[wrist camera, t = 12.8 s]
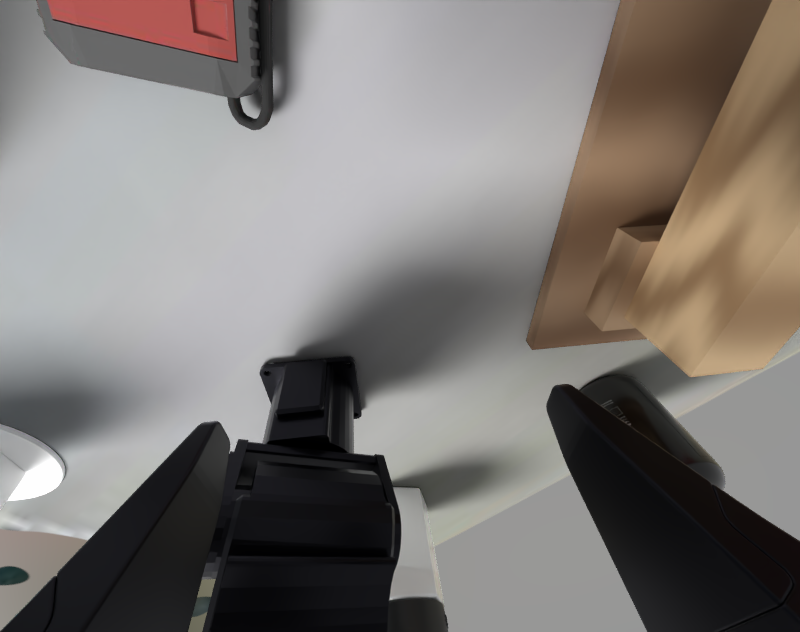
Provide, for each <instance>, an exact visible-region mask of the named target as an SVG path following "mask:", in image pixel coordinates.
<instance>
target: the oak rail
mask: <svg viewBox="0 0 800 632" xmlns="http://www.w3.org/2000/svg"><path fill="white" fill-rule="evenodd" d="M624 318H625V319H626V320H627V321H628V322H630V323H631V324H632V325H633V326H634V327H635V328H636V329H637V330H638V331H639V332H641V333H642V334H643V335H644V336H645V337H646V338H647V339H648V340H649V341H650V342H652V343H653V344H654V345H655V346H656V347H657V348H658V349H659V350H660V351H661V352H663V353H664V354H665V355H666V356H667V357H668V358H669V359H670V360H671V361H673V362H674V363H675V364H676V365H677V366H678V367H679V368H680V369H681V370H682V371H684V372H685V373H686V374H687V375H688V376H689V377H697V376H706V375H714V374H723V373H731V372H740V371H749V370H757V369H763V368H764V367H765V366H766V365H767V364H768V362H769V361H770V360H771V359H772V358H773V357H774V356H775V354H776V353H777V352H778V351H779V350H780V349H781V348H782V346H783V345H784V344H785V343H786V342H787V341H788V340H789V338H790V337H791V336H792V335H793V334H794V333H795V332H796V331H797V329H798V328H799V327H800V0H772V2H771V4H770V6H769V8H768V10H767V12H766V15H765V17H764V19H763V21H762V23H761V25H760V27H759V30H758V32H757V34H756V36H755V38H754V40H753V42H752V45H751V47H750V49H749V51H748V53H747V55H746V57H745V60H744V62H743V64H742V66H741V68H740V70H739V72H738V75H737V77H736V79H735V81H734V83H733V85H732V87H731V90H730V92H729V94H728V96H727V98H726V100H725V102H724V105H723V107H722V109H721V111H720V113H719V115H718V117H717V120H716V122H715V124H714V126H713V128H712V130H711V132H710V134H709V137H708V139H707V141H706V143H705V145H704V147H703V149H702V152H701V154H700V156H699V158H698V160H697V162H696V164H695V167H694V169H693V171H692V173H691V175H690V177H689V179H688V182H687V184H686V186H685V188H684V190H683V192H682V194H681V197H680V199H679V201H678V203H677V205H676V207H675V209H674V212H673V214H672V216H671V218H670V220H669V222H668V224H667V227H666V229H665V231H664V233H663V235H662V237H661V239H660V242H659V244H658V246H657V248H656V250H655V252H654V254H653V257H652V259H651V261H650V263H649V265H648V267H647V269H646V272H645V274H644V276H643V278H642V280H641V282H640V284H639V287H638V289H637V291H636V293H635V295H634V297H633V299H632V302H631V304H630V306H629V308H628V310H627V312H626V314H625V317H624Z"/></svg>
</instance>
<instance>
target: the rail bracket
mask: <svg viewBox="0 0 800 632" xmlns="http://www.w3.org/2000/svg"><path fill="white" fill-rule="evenodd" d="M771 2H772V0H621V1H620V5H619V8H618V12H617V16H616V19H615V23H614V26H613V30H612V33H611V37H610V41H609V44H608V48H607V51H606V55H605V59H604V62H603V66H602V69H601V73H600V77H599V80H598V84H597V87H596V91H595V95H594V98H593V102H592V105H591V109H590V113H589V116H588V120H587V123H586V127H585V131H584V134H583V138H582V141H581V145H580V149H579V152H578V156H577V159H576V163H575V167H574V170H573V174H572V177H571V181H570V185H569V188H568V192H567V195H566V199H565V203H564V206H563V210H562V213H561V217H560V221H559V224H558V228H557V231H556V235H555V239H554V242H553V246H552V249H551V253H550V257H549V260H548V264H547V267H546V271H545V275H544V278H543V282H542V285H541V289H540V293H539V296H538V300H537V303H536V307H535V311H534V314H533V318H532V321H531V325H530V329H529V332H528V336H527V339H526V341H527V343H528V344H529V346H530V348H531V349H532V350H535V349H545V348H556V347H566V346H577V345H587V344H598V343H608V342H619V341H629V340H640V339H647V338H646V337H645V336H644V335H643V334H642V333H641V332H639V331H638V330H637V329H636V328H635V327H634V326H633V325H632V324H631V323H630V322H628V321H627V320H626V319H625V318H624V317H625V314H626V312H627V310H628V308H629V306H630V304H631V302H632V299H633V297H634V295H635V293H636V291H637V289H638V287H639V284H640V282H641V280H642V278H643V276H644V274H645V272H646V269H647V267H648V265H649V263H650V261H651V259H652V257H653V254H654V252H655V250H656V248H657V246H658V244H659V242H660V239H661V237H662V235H663V233H664V231H665V229H666V227H667V224H668V222H669V220H670V218H671V216H672V214H673V212H674V209H675V207H676V205H677V203H678V201H679V199H680V197H681V194H682V192H683V190H684V188H685V186H686V184H687V182H688V179H689V177H690V175H691V173H692V171H693V169H694V167H695V164H696V162H697V160H698V158H699V156H700V154H701V152H702V149H703V147H704V145H705V143H706V141H707V139H708V137H709V134H710V132H711V130H712V128H713V126H714V124H715V122H716V120H717V117H718V115H719V113H720V111H721V109H722V107H723V105H724V102H725V100H726V98H727V96H728V94H729V92H730V90H731V87H732V85H733V83H734V81H735V79H736V77H737V75H738V72H739V70H740V68H741V66H742V64H743V62H744V60H745V57H746V55H747V53H748V51H749V49H750V47H751V45H752V42H753V40H754V38H755V36H756V34H757V32H758V30H759V27H760V25H761V23H762V21H763V19H764V17H765V15H766V12H767V10H768V8H769V6H770V4H771Z"/></svg>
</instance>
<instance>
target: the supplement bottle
mask: <svg viewBox="0 0 800 632" xmlns="http://www.w3.org/2000/svg"><path fill="white" fill-rule="evenodd" d="M580 392H582V393H583V394H585V395H586V396H588V397H589V398H590V399H592V400H593V401H595V402H596V403H598V404H599V405H601V406H602V407H603V408H605V409H606V410H608V411H609V412H611V413H612V414H613V415H615V416H616V417H618V418H619V419H621V420H622V421H624V422H625V423H626V424H628V425H629V426H631V427H632V428H634V429H635V430H636V431H638V432H639V433H641V434H642V435H644V436H645V437H647V438H648V439H649V440H651V441H652V442H654V443H655V444H657V445H658V446H659V447H661V448H662V449H664V450H665V451H667V452H668V453H669V454H671V455H672V456H674V457H675V458H677V459H678V460H680V461H681V462H682V463H684V464H685V465H687V466H688V467H690V468H691V469H692V470H694V471H695V472H697V473H698V474H700V475H701V476H703V477H704V478H705V479H707V480H708V481H710V482H711V484H712V485H716V486H717V487H719V488H720V489H721V490H723V489H724V487H725V476H724V473H723V470H722V469H721V467H720V466H719V465H718V464H717V462H716V461H715V460H714V459H713V458H712V457H711V456H710V455H709V454H708V453H707V452H706V450H705V449H703V447H702V446H701V445H700V444H699V443H698V442H697V441H696V440H695V439H694V438H693V437H692V436H691V435H690V434H689V433H688V431H686V429H685V428H684V427H683V426H682V425H681V424H680V423H679V422H678V421H677V420H676V419H675V418H674V417H673V416H672V415H671V414H670V412H669V411H668V410H667V409H666V408H665V407H664V406H663V405H662V404H661V403H660V402H659V401H658V400H657V399H656V398H655V397H654V396H653V395H652V394H651V392H650V391H649V390H648V389H647V388H646V387H645V386H644V385H643V384H642V383H641V382H640V381H638V380H637V379H635V378H633V377H630V376H626V375H614V376H608V377H605V378H601V379H599V380H596V381H594V382H592V383H590V384H589V385H587V386H586V387H584V388H583V389H581V390H580Z"/></svg>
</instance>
